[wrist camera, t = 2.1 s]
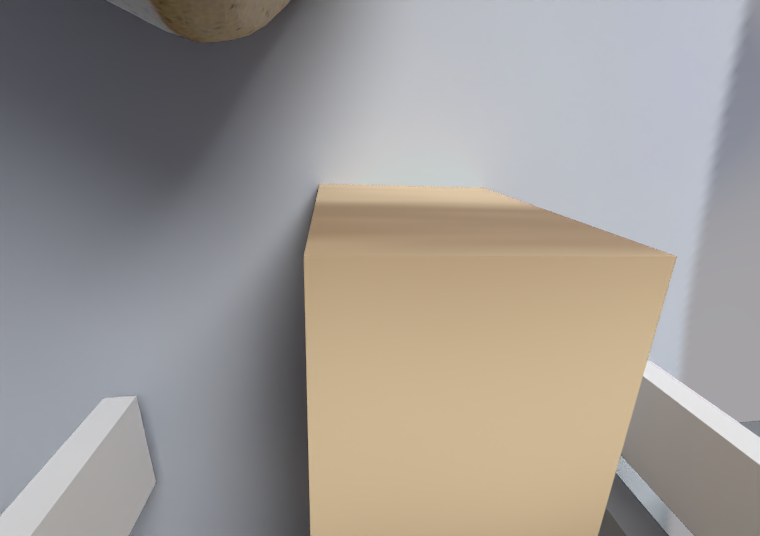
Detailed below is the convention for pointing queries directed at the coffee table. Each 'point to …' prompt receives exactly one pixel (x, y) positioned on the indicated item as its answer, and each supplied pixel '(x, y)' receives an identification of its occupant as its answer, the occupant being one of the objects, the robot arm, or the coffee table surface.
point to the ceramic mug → (205, 16)
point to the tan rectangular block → (469, 362)
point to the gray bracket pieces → (636, 508)
